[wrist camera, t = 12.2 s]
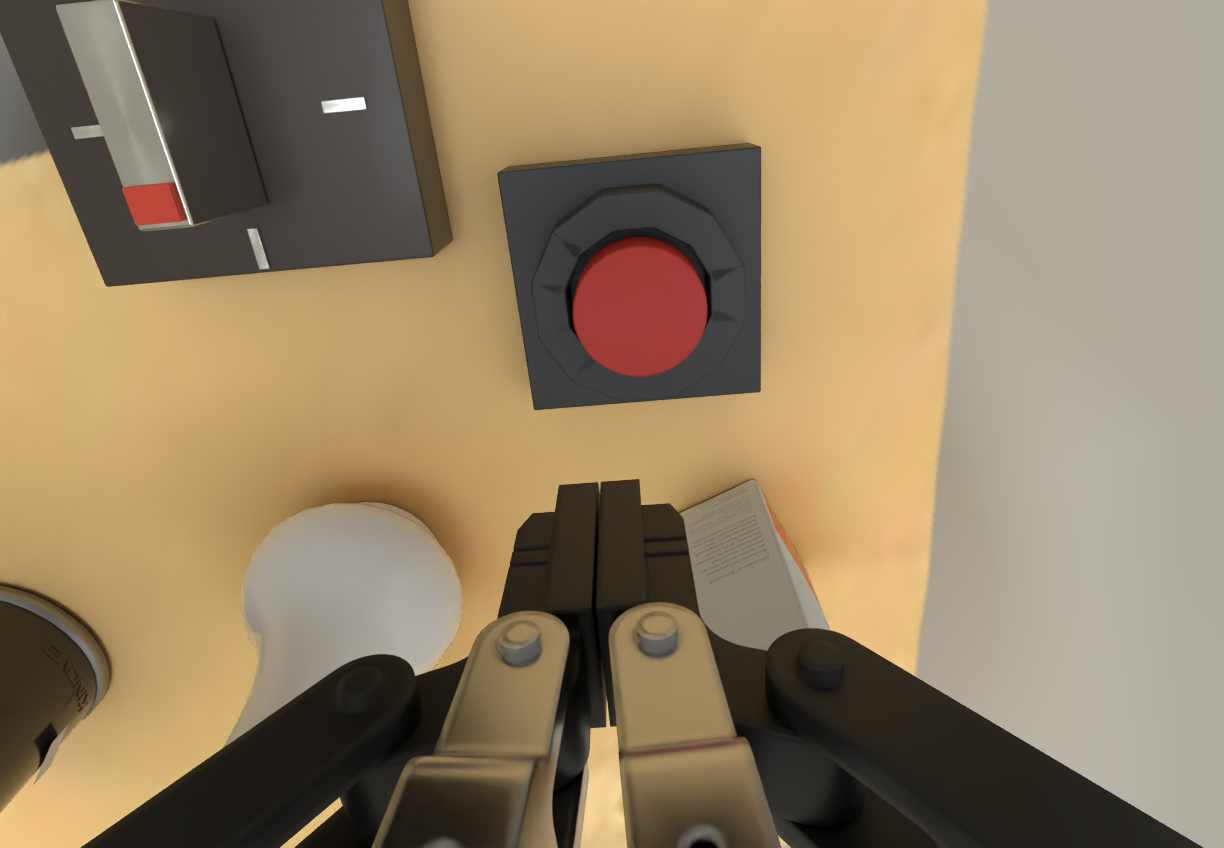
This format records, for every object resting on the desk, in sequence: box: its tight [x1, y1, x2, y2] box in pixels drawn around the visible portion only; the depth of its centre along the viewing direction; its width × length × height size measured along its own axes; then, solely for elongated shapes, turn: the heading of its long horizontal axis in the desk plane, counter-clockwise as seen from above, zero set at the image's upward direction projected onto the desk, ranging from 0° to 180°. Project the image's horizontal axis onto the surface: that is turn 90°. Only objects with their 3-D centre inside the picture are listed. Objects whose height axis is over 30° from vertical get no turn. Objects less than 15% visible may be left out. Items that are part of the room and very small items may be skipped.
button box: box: [498, 143, 761, 410], centre depth 25 cm, size 9×9×4 cm
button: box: [573, 236, 707, 376], centre depth 23 cm, size 4×4×2 cm
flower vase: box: [222, 502, 463, 749], centre depth 22 cm, size 13×18×25 cm
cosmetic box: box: [679, 480, 830, 651], centre depth 27 cm, size 6×4×12 cm
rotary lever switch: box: [0, 0, 453, 287], centre depth 23 cm, size 12×10×3 cm
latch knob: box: [55, 0, 267, 231], centre depth 20 cm, size 6×2×5 cm, turn 5°
